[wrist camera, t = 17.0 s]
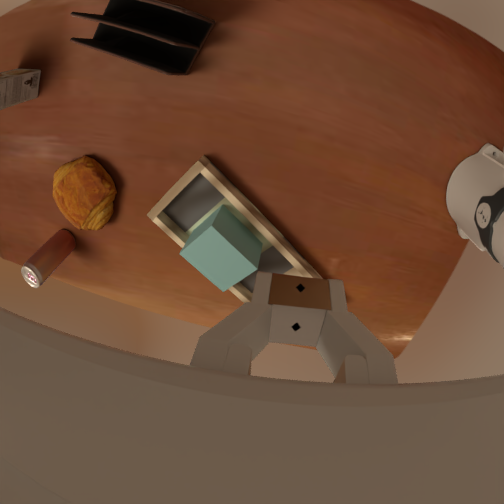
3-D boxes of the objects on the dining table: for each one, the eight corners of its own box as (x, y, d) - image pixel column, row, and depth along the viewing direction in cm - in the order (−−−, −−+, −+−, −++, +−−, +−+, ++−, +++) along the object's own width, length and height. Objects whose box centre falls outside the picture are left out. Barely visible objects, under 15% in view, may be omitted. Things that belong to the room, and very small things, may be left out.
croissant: (97, 225, 60) (81, 249, 54) (53, 175, 51) (32, 195, 46) (138, 196, 54) (121, 221, 48) (88, 137, 46) (64, 155, 40)
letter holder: (117, -8, 30) (64, -20, 19) (217, 21, 33) (184, 3, 22) (94, 41, 36) (38, 44, 24) (187, 76, 39) (145, 80, 27)
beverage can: (74, 253, 63) (39, 293, 50) (57, 240, 61) (20, 277, 49) (78, 237, 60) (40, 277, 47) (60, 223, 58) (20, 260, 46)
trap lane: (339, 296, 58) (341, 307, 56) (285, 325, 65) (284, 336, 62) (204, 155, 46) (198, 160, 43) (153, 207, 53) (146, 214, 50)
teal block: (262, 243, 53) (257, 269, 47) (231, 265, 57) (223, 291, 51) (222, 204, 50) (211, 225, 44) (193, 230, 54) (179, 253, 47)
